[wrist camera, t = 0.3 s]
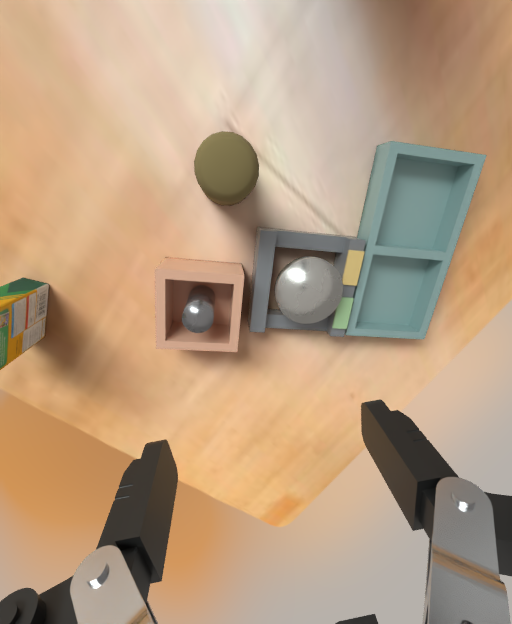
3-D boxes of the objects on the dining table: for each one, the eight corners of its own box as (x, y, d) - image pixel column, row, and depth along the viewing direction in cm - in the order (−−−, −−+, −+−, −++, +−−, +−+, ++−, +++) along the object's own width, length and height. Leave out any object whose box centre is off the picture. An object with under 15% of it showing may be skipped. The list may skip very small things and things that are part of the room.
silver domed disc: (275, 249, 34) (281, 255, 31) (337, 255, 35) (349, 261, 32) (267, 310, 37) (272, 321, 33) (325, 314, 38) (335, 325, 34)
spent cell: (189, 284, 36) (181, 303, 29) (216, 286, 36) (214, 305, 30) (188, 308, 37) (181, 332, 30) (214, 310, 37) (212, 333, 31)
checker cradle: (257, 227, 35) (260, 230, 31) (353, 236, 36) (367, 240, 33) (247, 320, 39) (250, 332, 35) (334, 325, 40) (344, 337, 37)
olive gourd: (264, 178, 33) (282, 169, 23) (226, 217, 34) (226, 225, 24) (226, 132, 31) (227, 99, 21) (186, 174, 32) (169, 163, 22)
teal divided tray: (377, 145, 33) (391, 141, 30) (465, 158, 34) (486, 155, 32) (337, 325, 41) (345, 335, 38) (410, 330, 42) (424, 339, 39)
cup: (165, 257, 35) (154, 268, 29) (241, 263, 36) (244, 275, 31) (166, 326, 38) (156, 348, 32) (235, 330, 39) (237, 352, 34)
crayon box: (21, 276, 34) (-72, 312, 23) (49, 283, 35) (-29, 321, 24) (19, 331, 36) (-68, 387, 26) (45, 337, 37) (-28, 394, 26)
